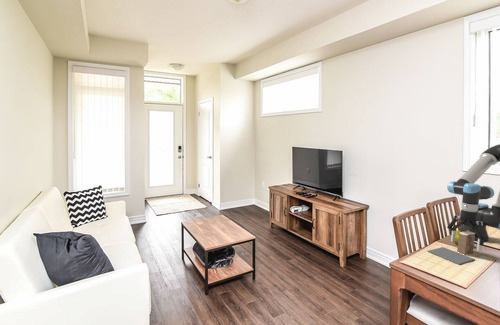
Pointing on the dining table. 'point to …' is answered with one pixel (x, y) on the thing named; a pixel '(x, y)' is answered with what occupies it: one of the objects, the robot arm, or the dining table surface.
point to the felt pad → (451, 255)
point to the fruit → (457, 237)
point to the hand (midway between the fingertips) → (465, 245)
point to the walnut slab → (466, 242)
